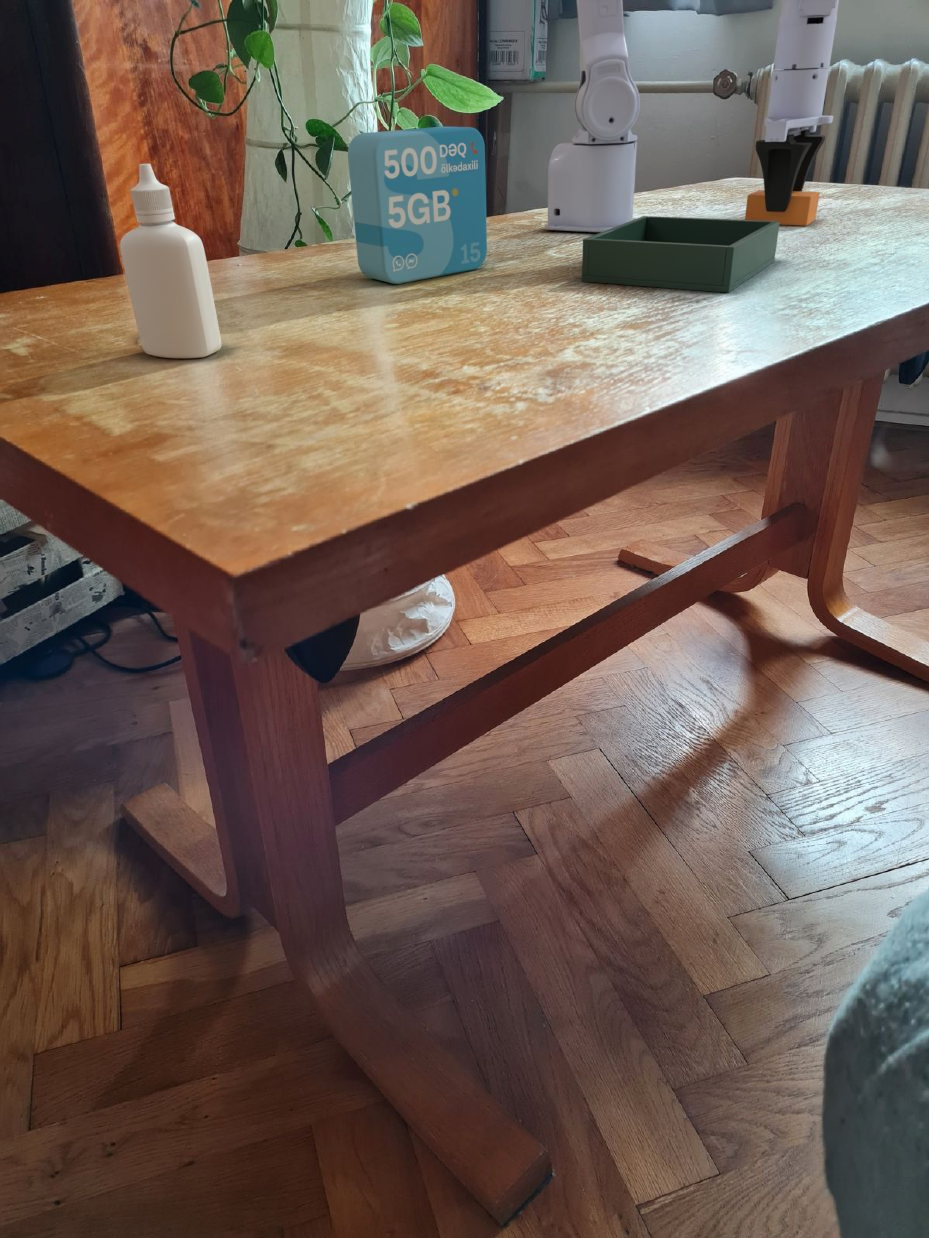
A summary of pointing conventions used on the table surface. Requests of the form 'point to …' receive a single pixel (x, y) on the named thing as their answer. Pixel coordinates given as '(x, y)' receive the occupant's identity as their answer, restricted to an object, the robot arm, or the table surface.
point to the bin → (680, 253)
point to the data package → (418, 202)
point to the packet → (796, 213)
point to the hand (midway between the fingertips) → (781, 208)
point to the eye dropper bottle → (168, 277)
